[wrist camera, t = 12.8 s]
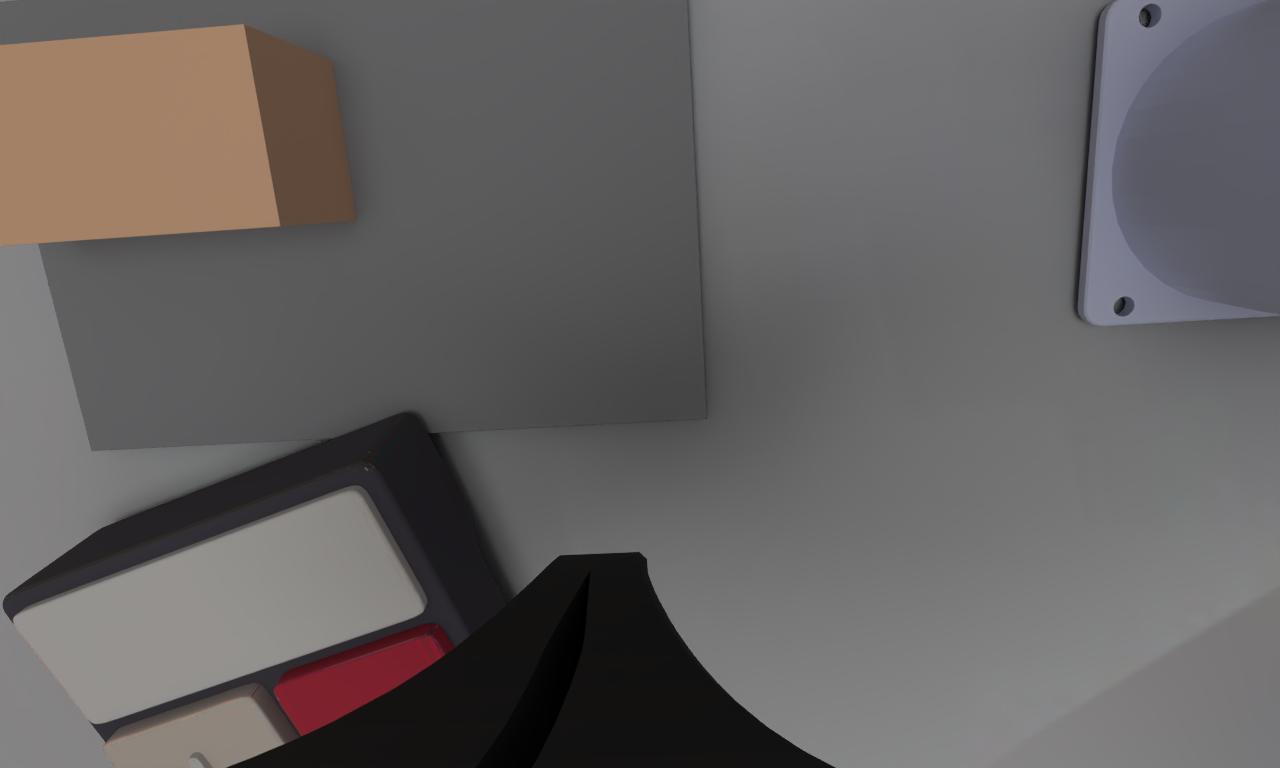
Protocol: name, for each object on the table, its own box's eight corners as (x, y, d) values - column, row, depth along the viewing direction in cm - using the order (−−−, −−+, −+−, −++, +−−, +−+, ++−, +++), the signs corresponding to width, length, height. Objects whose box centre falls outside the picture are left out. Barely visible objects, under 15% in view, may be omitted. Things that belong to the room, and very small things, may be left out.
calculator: (277, 1011, 23) (-37, 619, 18) (335, 876, 27) (90, 530, 22) (612, 921, 21) (356, 472, 17) (619, 793, 25) (415, 405, 21)
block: (243, 24, 15) (-129, 56, 15) (280, 226, 16) (-71, 251, 16) (331, 59, 19) (32, 84, 19) (357, 221, 20) (71, 240, 20)
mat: (684, -52, 18) (684, -59, 18) (706, 413, 21) (706, 419, 21) (-6, 9, 19) (-24, 4, 19) (104, 445, 22) (91, 451, 22)
